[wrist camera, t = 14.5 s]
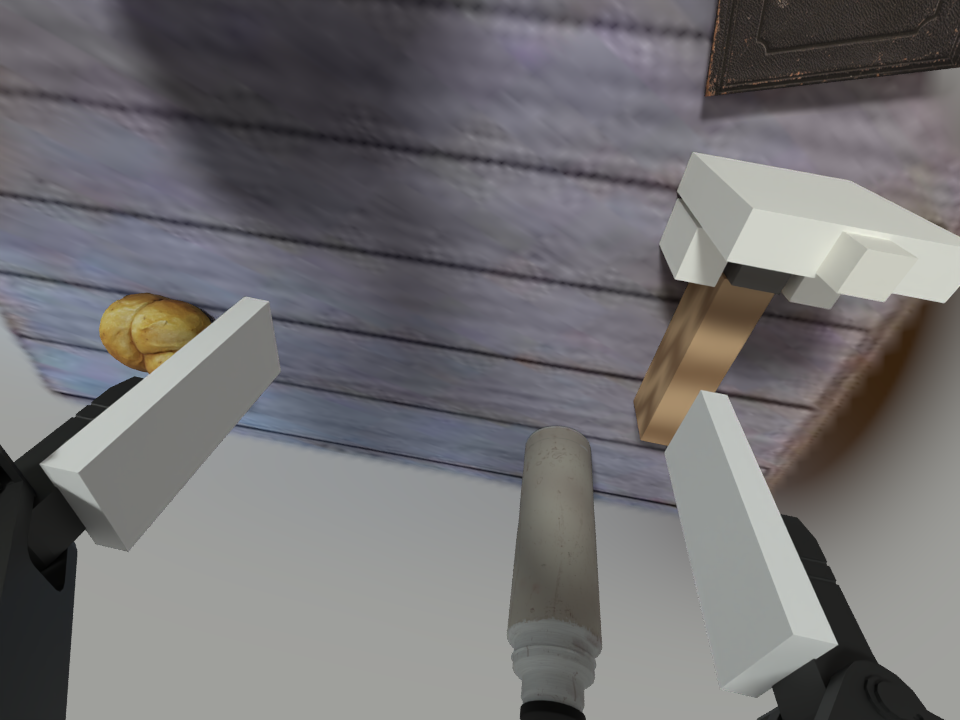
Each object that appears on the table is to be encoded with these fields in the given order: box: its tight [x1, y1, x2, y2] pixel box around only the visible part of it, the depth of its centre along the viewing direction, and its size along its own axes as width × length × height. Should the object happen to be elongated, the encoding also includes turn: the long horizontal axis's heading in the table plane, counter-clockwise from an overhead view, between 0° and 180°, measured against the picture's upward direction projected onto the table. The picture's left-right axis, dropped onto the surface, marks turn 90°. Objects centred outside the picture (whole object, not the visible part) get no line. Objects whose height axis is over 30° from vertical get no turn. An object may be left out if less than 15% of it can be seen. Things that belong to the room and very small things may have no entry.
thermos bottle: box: [507, 426, 602, 720], centre depth 44 cm, size 8×8×28 cm
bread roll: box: [99, 293, 212, 374], centre depth 50 cm, size 13×10×8 cm
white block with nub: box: [659, 152, 960, 309], centre depth 30 cm, size 12×8×16 cm, turn 82°
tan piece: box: [634, 262, 792, 446], centre depth 41 cm, size 20×4×7 cm, turn 172°
